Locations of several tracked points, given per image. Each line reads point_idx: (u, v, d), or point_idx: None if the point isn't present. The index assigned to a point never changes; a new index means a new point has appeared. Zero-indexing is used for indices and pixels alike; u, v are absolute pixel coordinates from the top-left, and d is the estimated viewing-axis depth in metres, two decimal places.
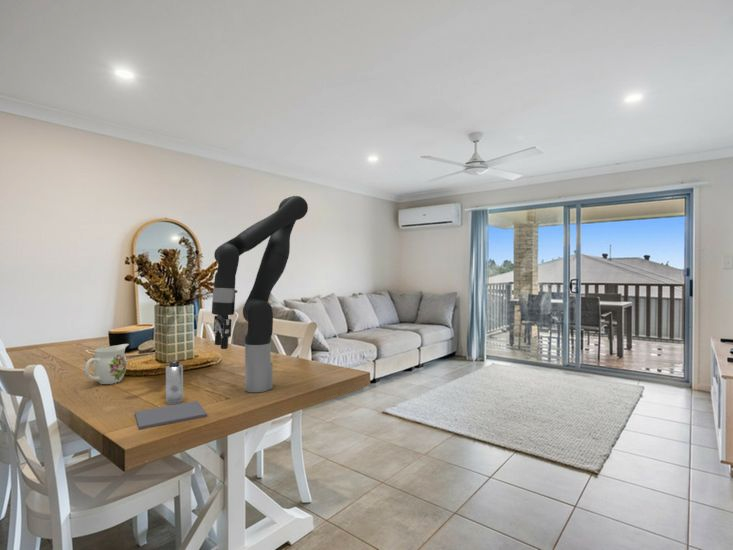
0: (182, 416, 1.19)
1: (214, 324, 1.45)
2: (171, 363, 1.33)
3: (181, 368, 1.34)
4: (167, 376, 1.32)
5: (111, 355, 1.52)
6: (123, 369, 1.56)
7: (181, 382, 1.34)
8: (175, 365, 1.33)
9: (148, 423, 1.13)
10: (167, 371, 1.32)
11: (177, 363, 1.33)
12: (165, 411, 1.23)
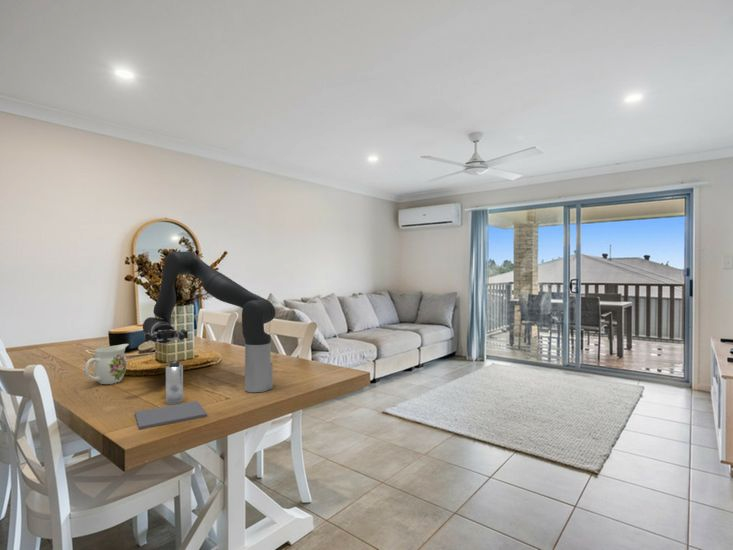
0: (182, 416, 1.19)
1: None
2: (171, 363, 1.33)
3: (181, 368, 1.34)
4: (167, 376, 1.32)
5: (111, 355, 1.52)
6: (123, 369, 1.56)
7: (181, 382, 1.34)
8: (175, 365, 1.33)
9: (148, 423, 1.13)
10: (167, 371, 1.32)
11: (177, 363, 1.33)
12: (165, 411, 1.23)
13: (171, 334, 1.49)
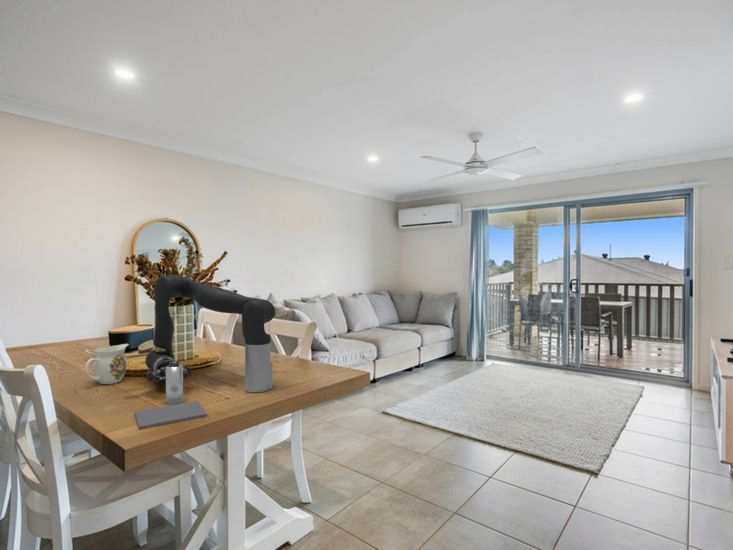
0: (182, 416, 1.19)
1: None
2: (171, 363, 1.33)
3: (181, 368, 1.34)
4: (167, 376, 1.32)
5: (111, 355, 1.52)
6: (123, 369, 1.56)
7: (181, 382, 1.34)
8: (175, 365, 1.33)
9: (148, 423, 1.13)
10: (167, 371, 1.32)
11: (177, 363, 1.33)
12: (165, 411, 1.23)
13: None
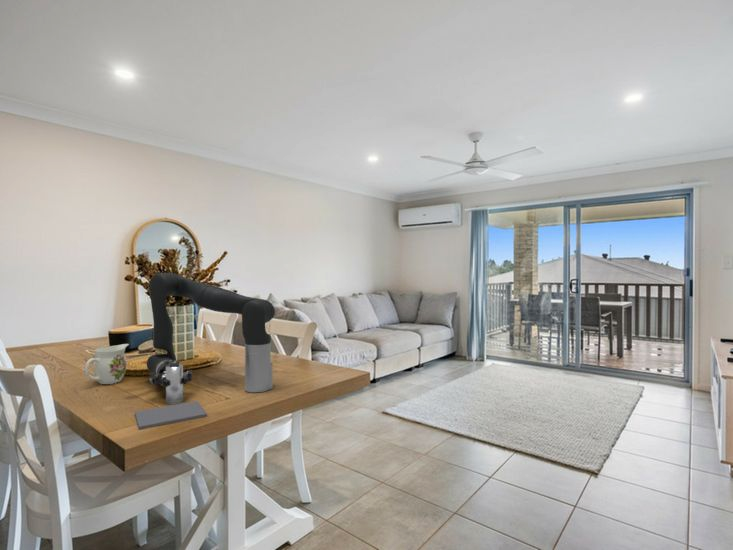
0: (182, 416, 1.19)
1: None
2: (171, 363, 1.33)
3: (181, 368, 1.34)
4: (167, 376, 1.32)
5: (111, 355, 1.52)
6: (123, 369, 1.56)
7: (181, 382, 1.34)
8: (175, 365, 1.33)
9: (148, 423, 1.13)
10: (167, 371, 1.32)
11: (177, 363, 1.33)
12: (165, 411, 1.23)
13: None
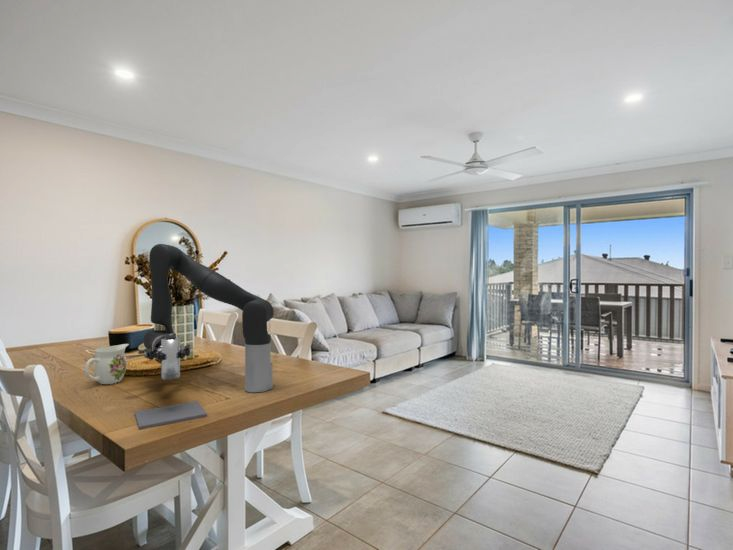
0: (182, 416, 1.19)
1: None
2: (167, 335, 1.23)
3: (178, 341, 1.24)
4: (163, 349, 1.22)
5: (111, 355, 1.52)
6: (123, 369, 1.56)
7: (178, 356, 1.24)
8: (171, 338, 1.23)
9: (148, 423, 1.13)
10: (163, 344, 1.22)
11: (174, 336, 1.24)
12: (165, 411, 1.23)
13: None
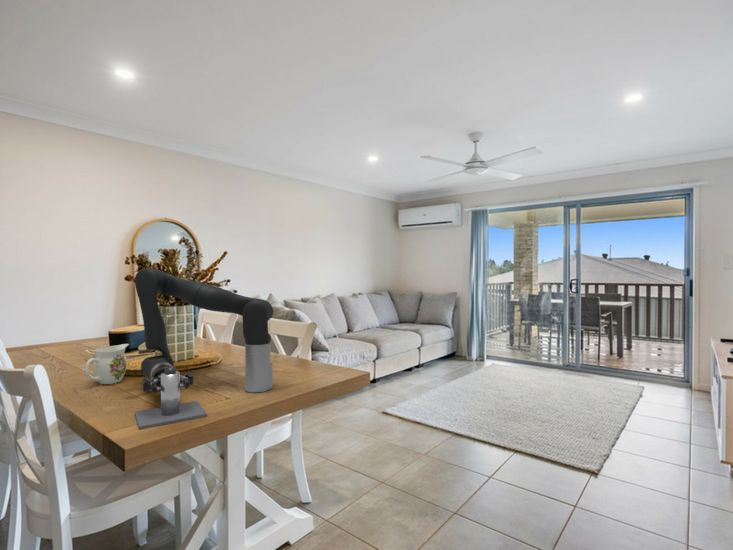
0: (182, 416, 1.19)
1: None
2: (167, 370, 1.20)
3: (178, 376, 1.21)
4: (162, 385, 1.19)
5: (111, 355, 1.52)
6: (123, 369, 1.56)
7: (178, 391, 1.21)
8: (171, 372, 1.20)
9: (148, 423, 1.13)
10: (162, 379, 1.19)
11: (173, 370, 1.21)
12: None
13: None
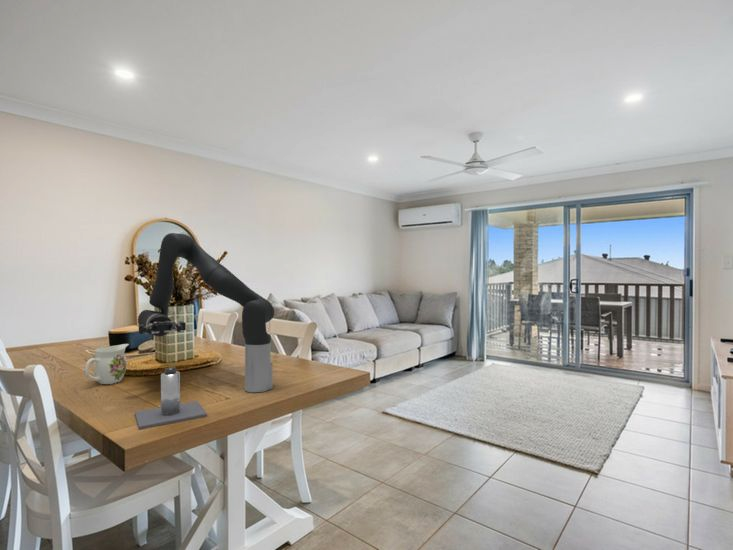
0: (182, 416, 1.19)
1: None
2: (167, 370, 1.20)
3: (178, 376, 1.21)
4: (162, 384, 1.19)
5: (111, 355, 1.52)
6: (123, 369, 1.56)
7: (178, 391, 1.21)
8: (171, 372, 1.21)
9: (148, 423, 1.13)
10: (162, 379, 1.19)
11: (173, 370, 1.21)
12: None
13: (168, 326, 1.37)
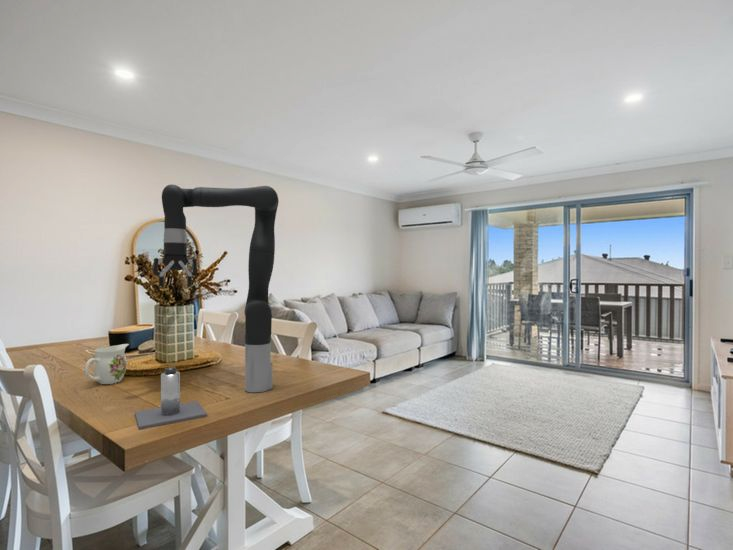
0: (182, 416, 1.19)
1: None
2: (167, 370, 1.20)
3: (178, 376, 1.21)
4: (162, 384, 1.19)
5: (111, 355, 1.52)
6: (123, 369, 1.56)
7: (178, 391, 1.21)
8: (171, 372, 1.21)
9: (148, 423, 1.13)
10: (162, 379, 1.19)
11: (173, 370, 1.21)
12: None
13: (180, 269, 1.44)
